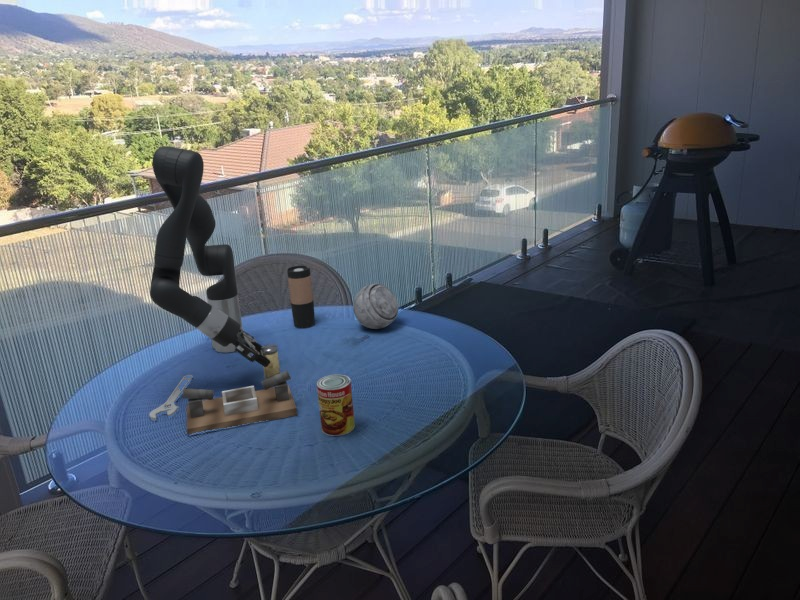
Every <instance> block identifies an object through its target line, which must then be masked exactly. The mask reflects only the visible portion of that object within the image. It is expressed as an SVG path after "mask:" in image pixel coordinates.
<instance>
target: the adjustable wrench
mask: <svg viewBox="0 0 800 600" xmlns="http://www.w3.org/2000/svg"><path fill="white" fill-rule="evenodd" d="M187 376H191V378H187V379H186V378H185V377H187ZM192 378H193V379H194V377H193V375H192V374H187V375H184V376H182V378H181V380H180V381H179V383H178V384H177V386H176V387H175V388H174V390H173V391H172V393H171V394H170V395H169V397H168V398H167V400H166V401H165V402H164V403H162V404H160V406H158V407H156V408H154V409H152V410H151V411H150V412H149V413H148V414H149V419H150V418H151V419H152V420H157V418H156V415H157V414H159V413H161V412H165V411H167V414H166V415H167V417H168V416H171V415H173V414H174V413H175V412H176V411H177V409H178V408H179V409H180V406H178V405H177V404H174V402H175V401H176V399H177V398H178V396H179V395H180V394H181V392H182V391H183V389H184V388H185V387H186V385H187V384H188V383H189V381H190V380H191V379H192ZM183 380H188V382H187V383H186V384H185V386H184V387H183V388H182V390H181V391H180V389H179V388H178V387H179V386H180V384H181V383H182V381H183ZM178 389H179V390H178ZM170 405H171V406H170ZM165 406H166V407H165ZM167 406H168V407H167Z"/></svg>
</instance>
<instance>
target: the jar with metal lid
mask: <svg viewBox="0 0 800 600" xmlns="http://www.w3.org/2000/svg"><path fill="white" fill-rule="evenodd" d="M262 346H263V347H261V354H262V355H263V356H265V357H266V358H268V359H269V360H270V364H269V365H268V366H267V367H264V366H262V367H263V374H264V380H266V379H268V378H270V377H273V376H275V375H277V374H280V373H281V369H280V367H281V366H280V361H279V353H278V351H279V348H278V345H276V344H266V345H262Z"/></svg>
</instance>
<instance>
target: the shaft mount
mask: <svg viewBox="0 0 800 600" xmlns="http://www.w3.org/2000/svg"><path fill="white" fill-rule="evenodd" d="M290 380H291V376H290V373H289V370H285V371H282V372H280V374H277V375H275V376H273V377H270V378H268V379H266V380H265V379H263V380H261V385H262V388H263V389H258V390H255V385H250V386H243V387H237V388H233V389H229V390H228V389H227V390H222V391H221V395H222V397H221V396H220V397H216V398H215V397H214V395H215V394H214V391H215V390H214V389H200V388H199V389H198V388H187V389H186V388H184V390H183V395H182V399H187V401H188V402H187V403H186V432H187V435H188V434H192V433H196V432H201V431H206V430H212V429H219V428H227V427H232V426H238V425H242V424H247V423H254V422H259V421H266V420H271V421H275V420H274V419H276V420H279V419H285V418H290V417H295V416H298V411H297V406H296V403H295V401H294V397H293V395H292V392H291V389H290V386H289V384H288V382H287V381H290ZM266 422H267V421H266Z"/></svg>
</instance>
